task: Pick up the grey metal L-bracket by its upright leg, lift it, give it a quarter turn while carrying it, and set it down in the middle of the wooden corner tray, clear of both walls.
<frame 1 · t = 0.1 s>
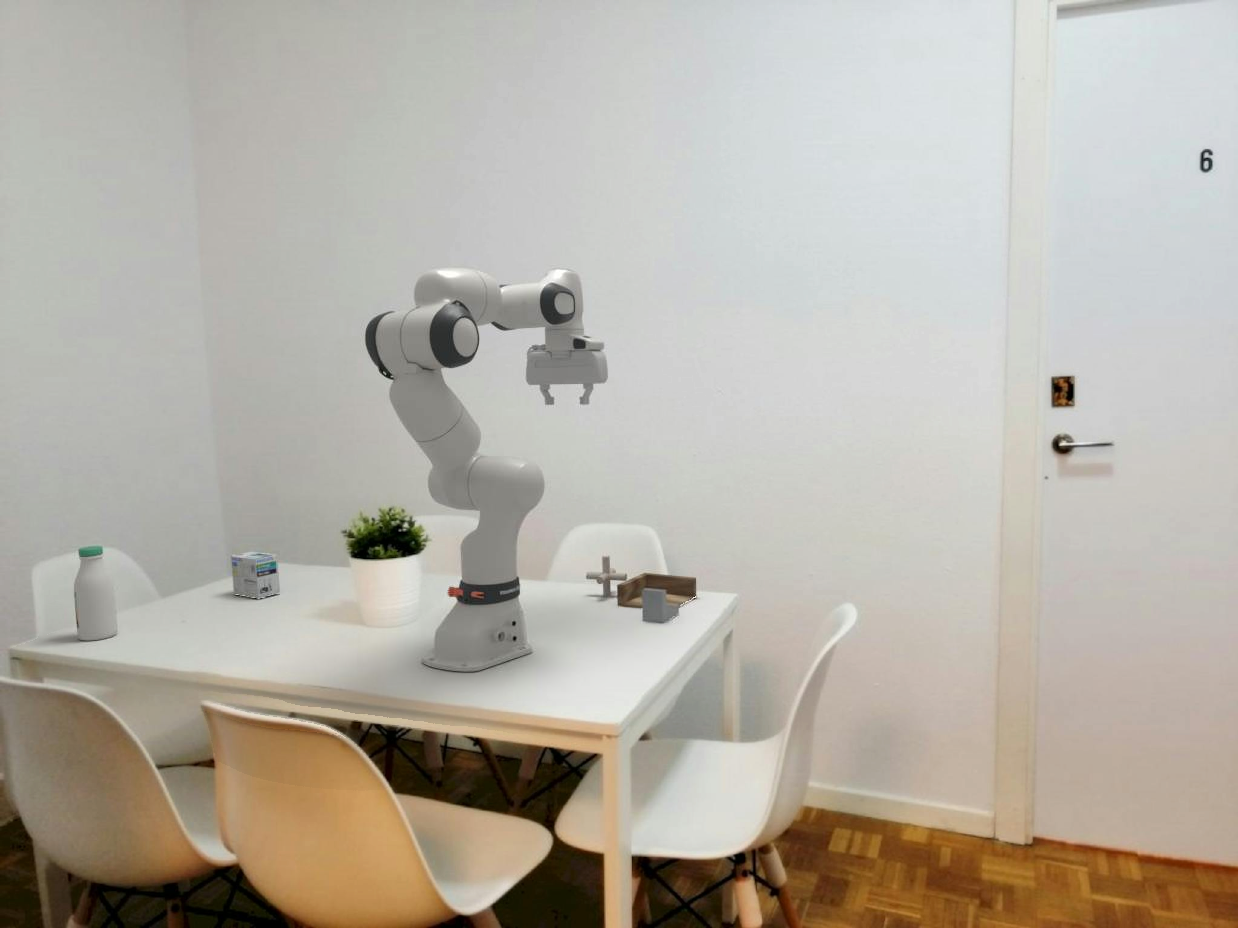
hand: (566, 404, 205), 48 cm above the table, tool pointing down, fingers open, 8 cm apart
milk bottle: (98, 637, 200), on the table
bracket: (660, 617, 202), on the table
wooden corner tray: (657, 601, 216), on the table
light bulb box: (256, 595, 235), on the table
pipe connector: (607, 596, 223), on the table
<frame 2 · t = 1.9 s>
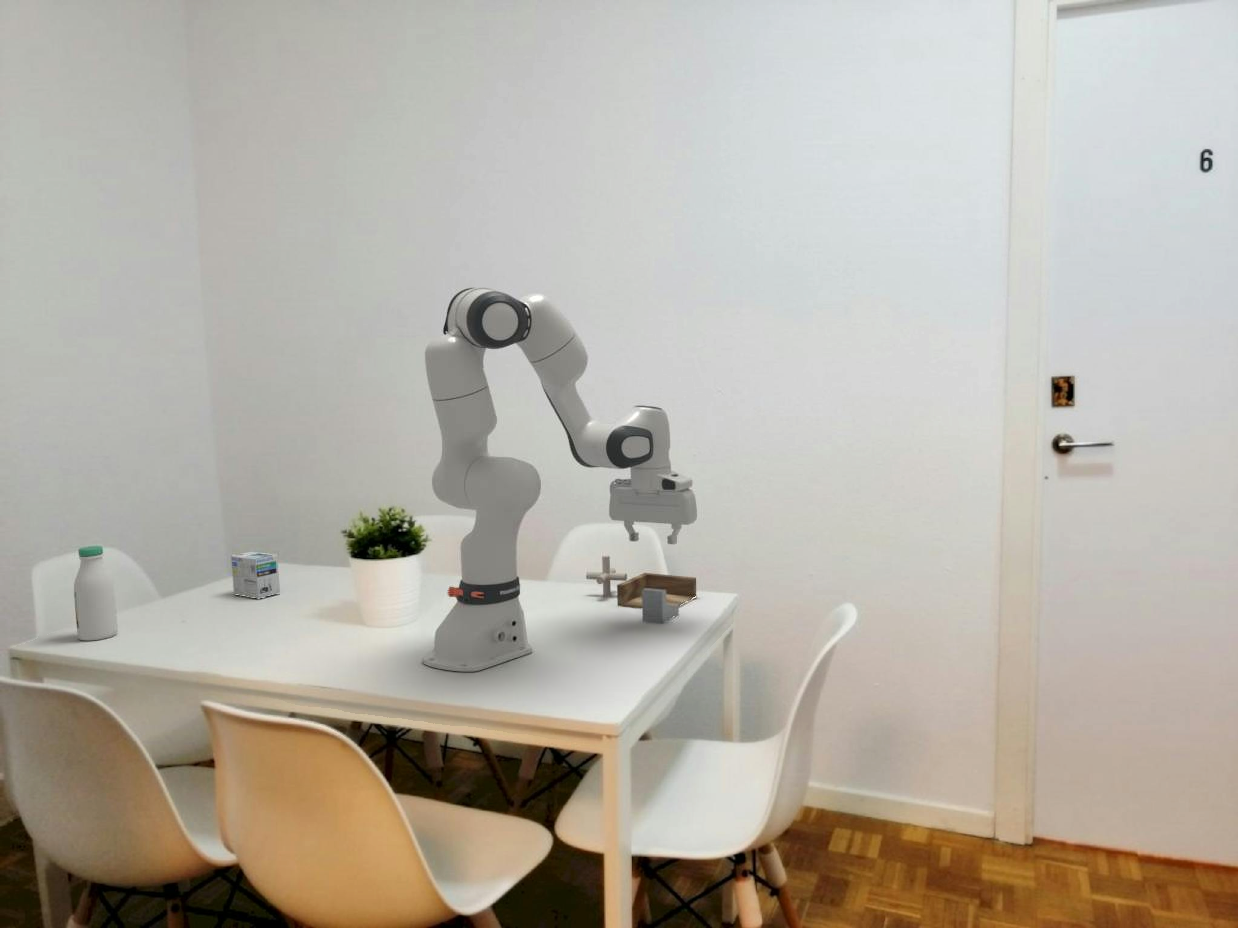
hand: (652, 542, 198), 18 cm above the table, tool pointing down, fingers open, 8 cm apart
nothing on the table moved.
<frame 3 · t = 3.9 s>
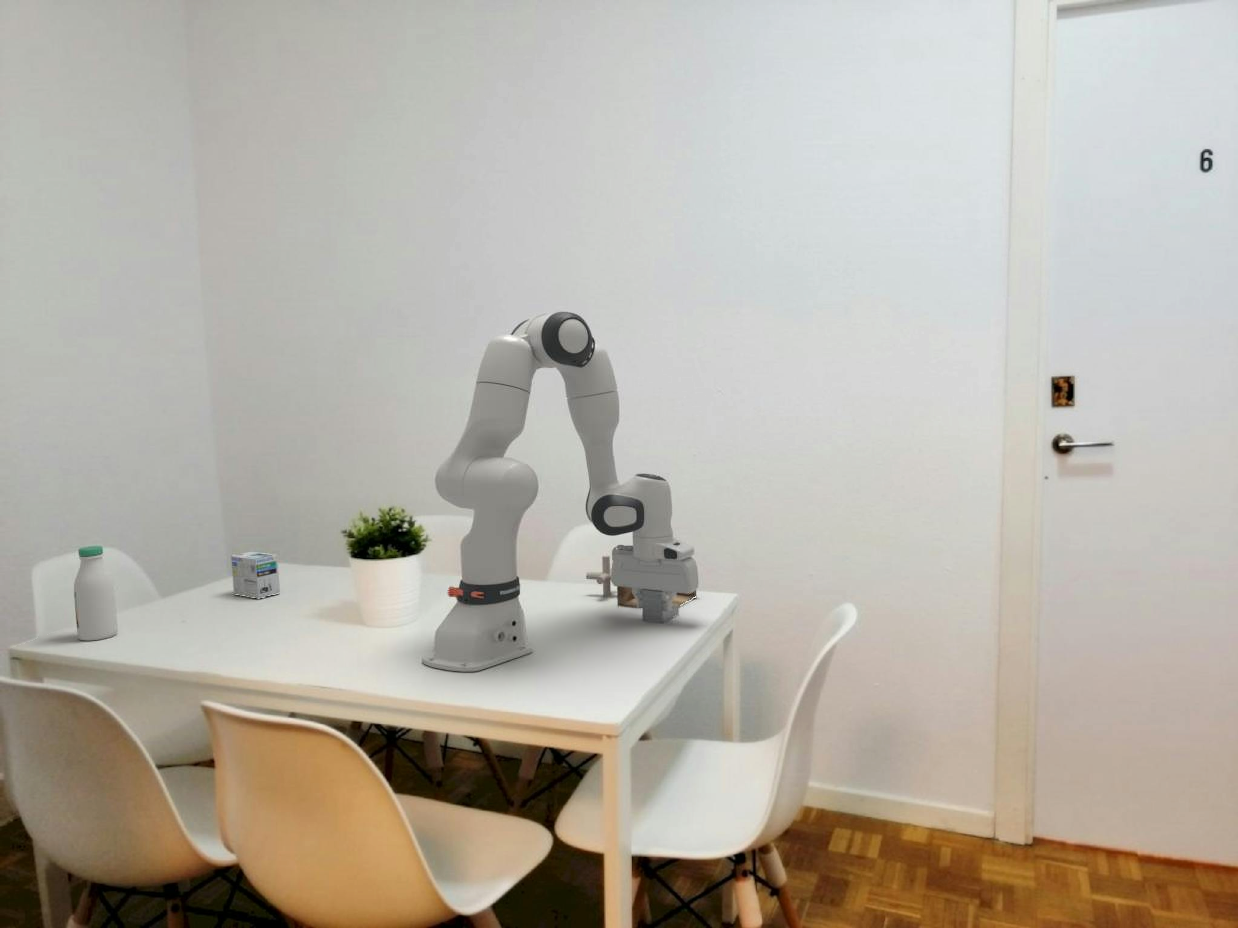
hand: (654, 609, 199), 3 cm above the table, tool pointing down, fingers closed on bracket, 5 cm apart
bracket: (660, 617, 202), on the table, touching gripper
everything else where it was.
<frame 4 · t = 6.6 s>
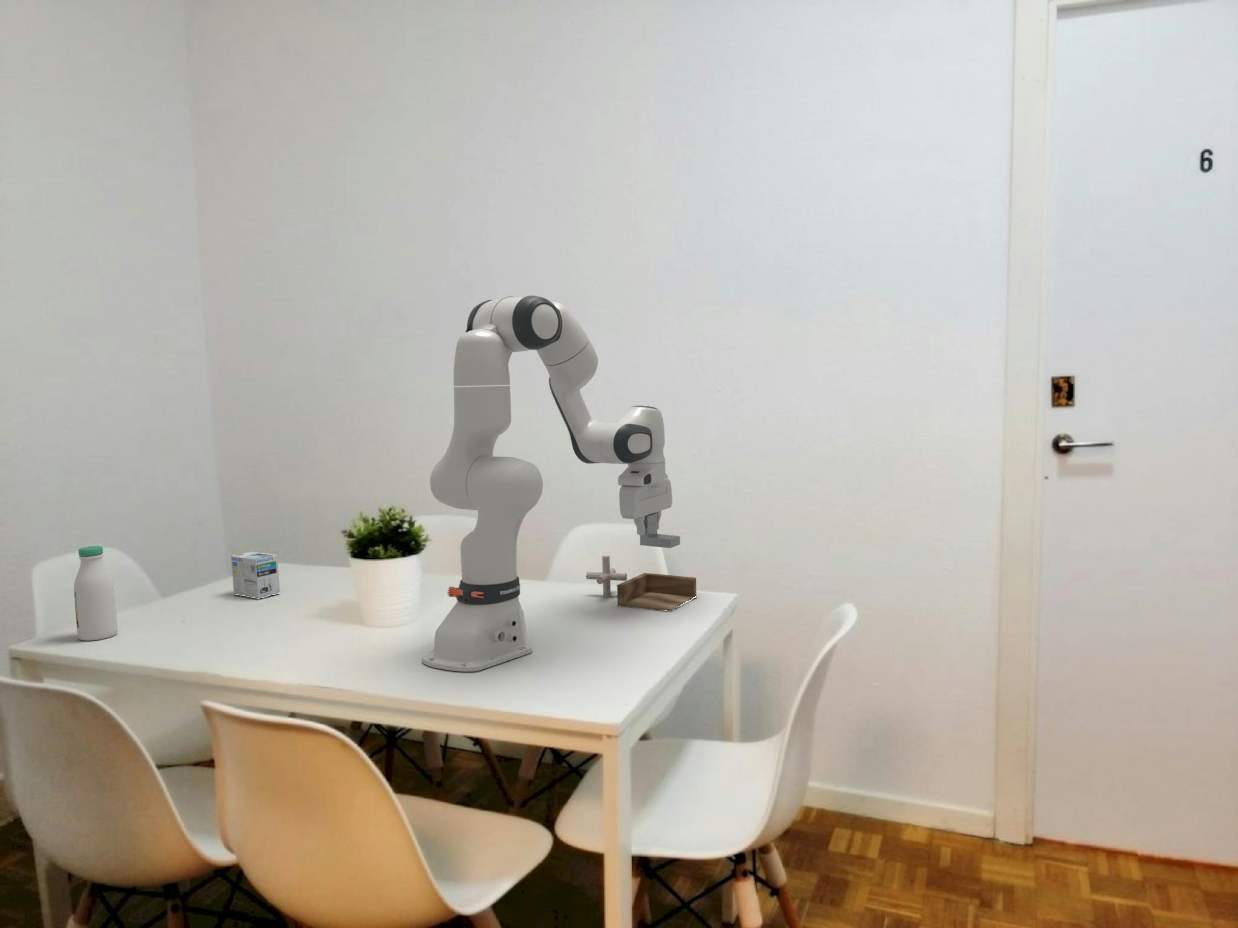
hand: (648, 532, 214), 17 cm above the table, tool pointing down, fingers closed on bracket, 5 cm apart
bracket: (660, 544, 213), point 14 cm above the table, touching gripper
everything else where it was.
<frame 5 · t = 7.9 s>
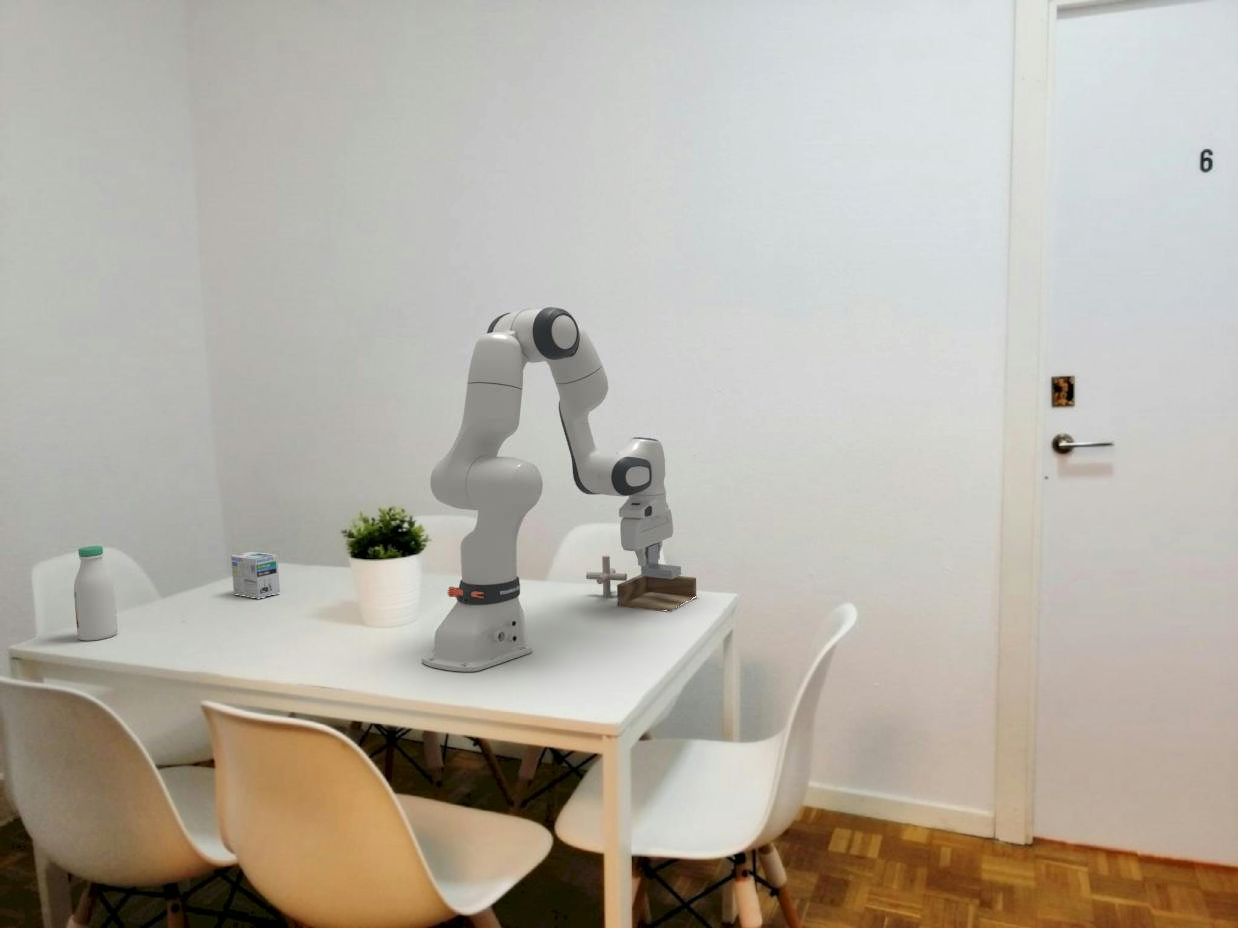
hand: (649, 562, 215), 10 cm above the table, tool pointing down, fingers closed on bracket, 5 cm apart
bracket: (661, 575, 214), point 7 cm above the table, touching gripper
everything else where it was.
when the fingers open (4 cm above the table, at t = 9.3 s): bracket stays where it is, resting on wooden corner tray.
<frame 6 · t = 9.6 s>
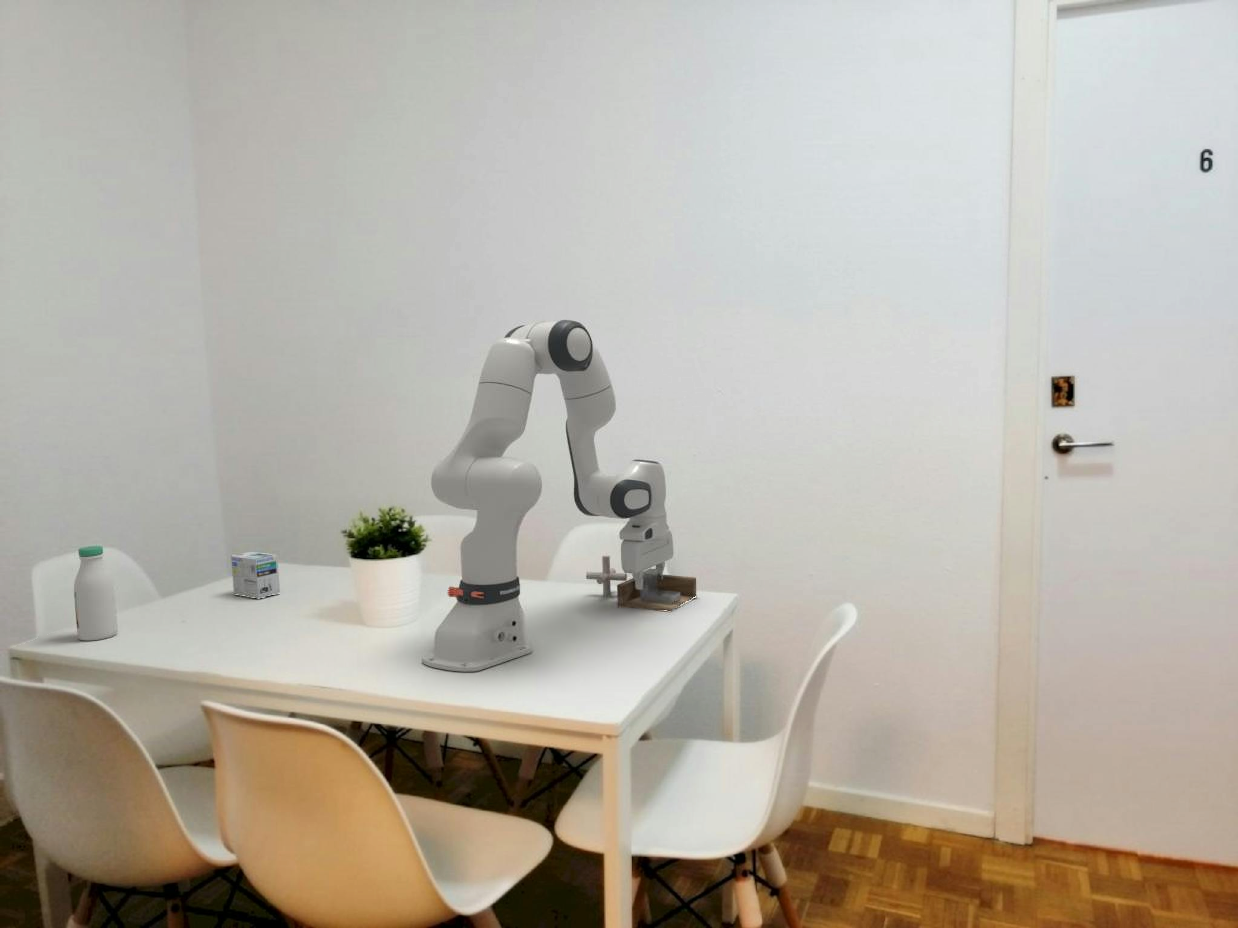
hand: (649, 584, 216), 4 cm above the table, tool pointing down, fingers open, 8 cm apart
bracket: (660, 600, 214), point 1 cm above the table, touching wooden corner tray
everything else where it was.
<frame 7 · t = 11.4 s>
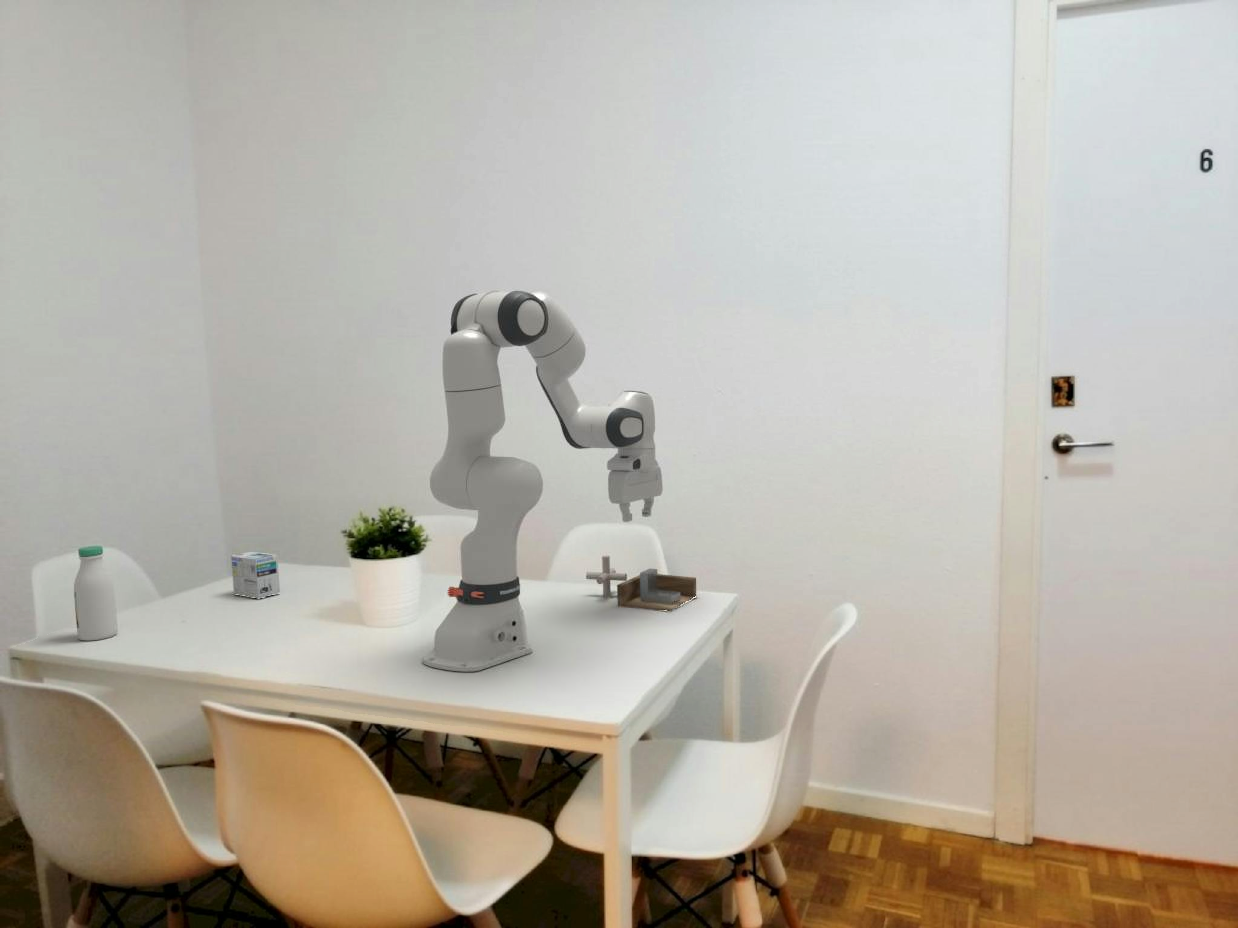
hand: (637, 518, 213), 20 cm above the table, tool pointing down, fingers open, 8 cm apart
nothing on the table moved.
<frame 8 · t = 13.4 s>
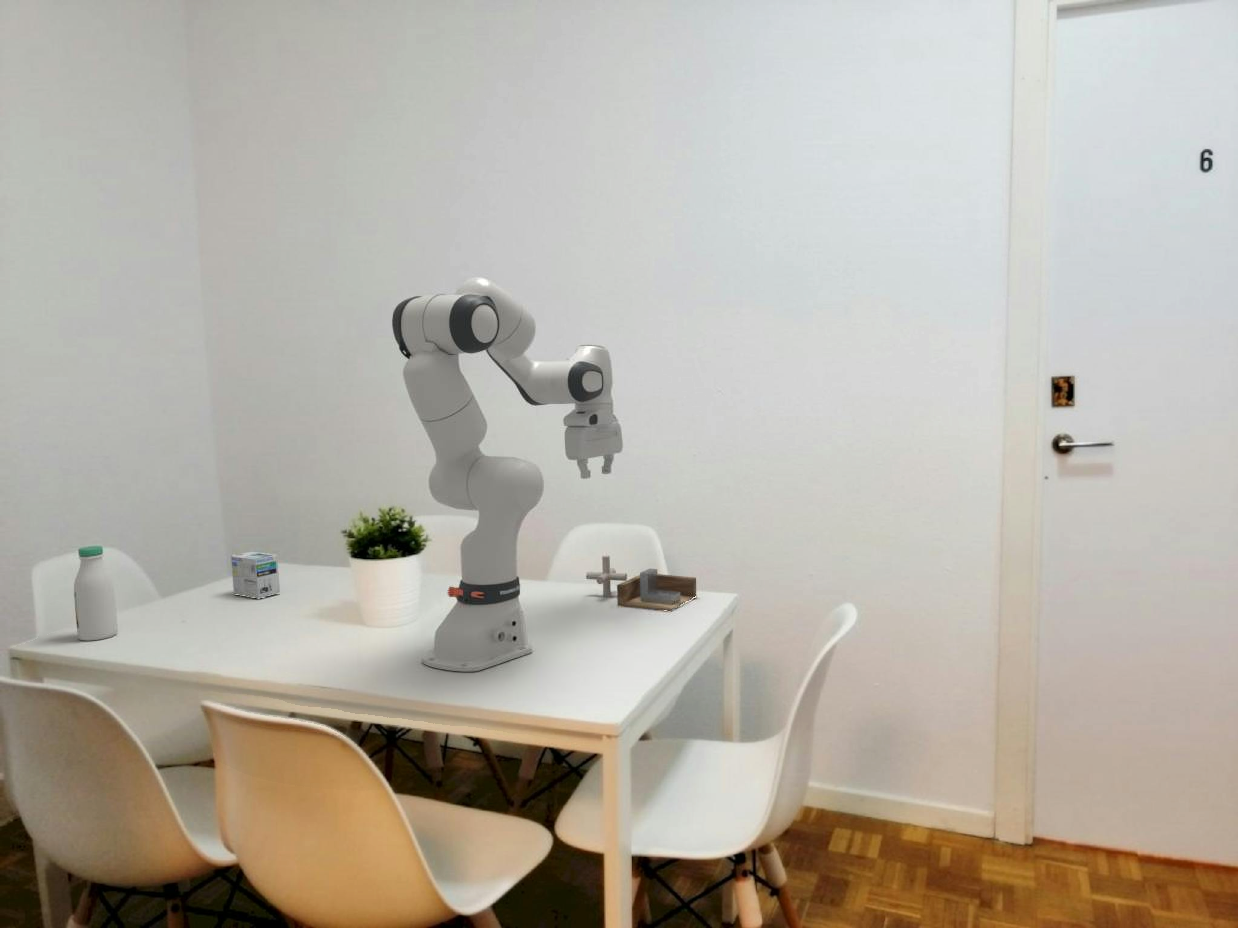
hand: (596, 476, 209), 31 cm above the table, tool pointing down, fingers open, 8 cm apart
nothing on the table moved.
at the end: bracket 0.6 cm from the target spot on the wooden corner tray, point 0.6 cm above the wooden corner tray's base; bracket tilted 0°; the gripper is holding nothing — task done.
